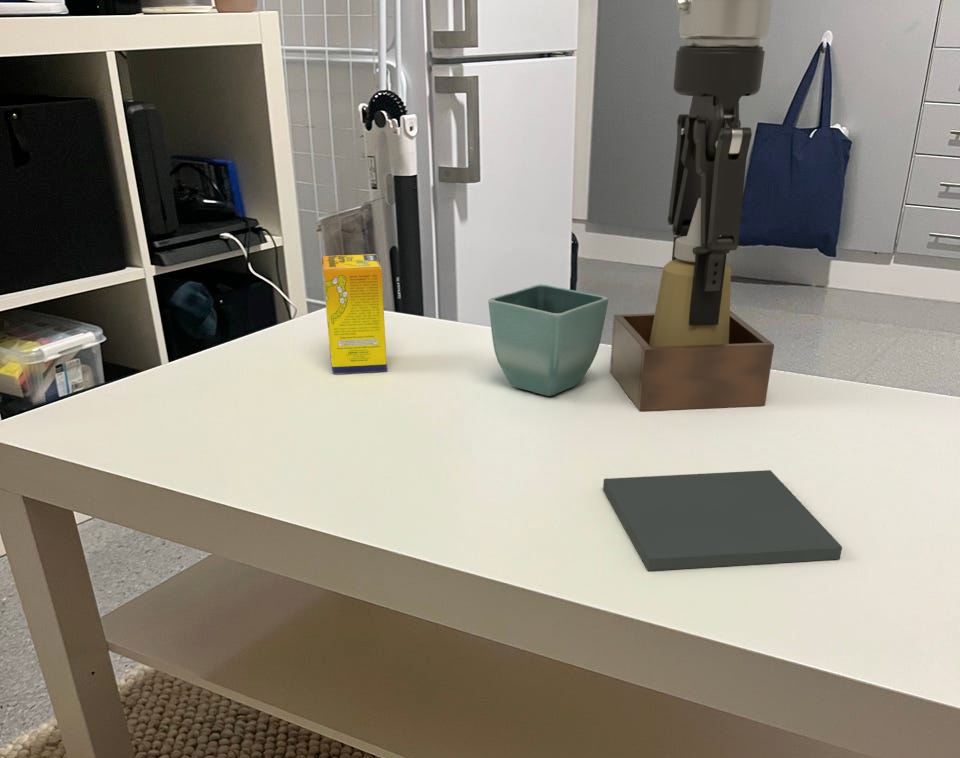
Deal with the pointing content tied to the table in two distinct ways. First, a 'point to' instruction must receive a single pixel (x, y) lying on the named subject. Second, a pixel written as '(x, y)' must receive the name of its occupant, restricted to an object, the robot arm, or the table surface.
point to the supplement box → (355, 313)
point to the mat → (717, 520)
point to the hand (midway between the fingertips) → (692, 313)
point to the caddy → (690, 367)
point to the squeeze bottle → (687, 298)
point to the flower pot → (546, 336)
